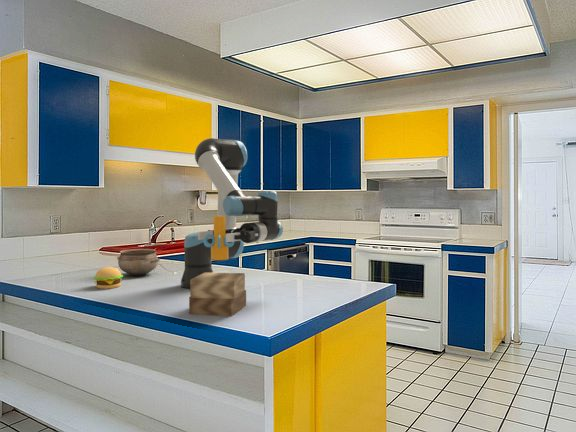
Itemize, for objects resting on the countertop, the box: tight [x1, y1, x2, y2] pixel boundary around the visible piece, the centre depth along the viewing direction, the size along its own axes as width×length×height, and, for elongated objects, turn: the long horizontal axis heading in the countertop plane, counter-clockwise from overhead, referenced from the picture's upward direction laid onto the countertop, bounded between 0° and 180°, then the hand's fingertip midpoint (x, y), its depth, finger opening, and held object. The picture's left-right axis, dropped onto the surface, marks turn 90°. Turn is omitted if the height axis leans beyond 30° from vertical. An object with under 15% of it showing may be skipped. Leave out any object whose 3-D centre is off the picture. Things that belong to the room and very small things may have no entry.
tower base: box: [188, 289, 247, 317], centre depth 159 cm, size 15×15×6 cm
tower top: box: [189, 272, 246, 299], centre depth 159 cm, size 15×15×6 cm
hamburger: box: [93, 266, 124, 290], centre depth 200 cm, size 12×12×9 cm
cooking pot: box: [116, 248, 161, 277], centre depth 229 cm, size 25×19×12 cm
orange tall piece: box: [203, 215, 234, 261], centre depth 157 cm, size 12×10×15 cm
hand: (212, 236), depth 155 cm, fingers closed on orange tall piece, 12 cm apart
